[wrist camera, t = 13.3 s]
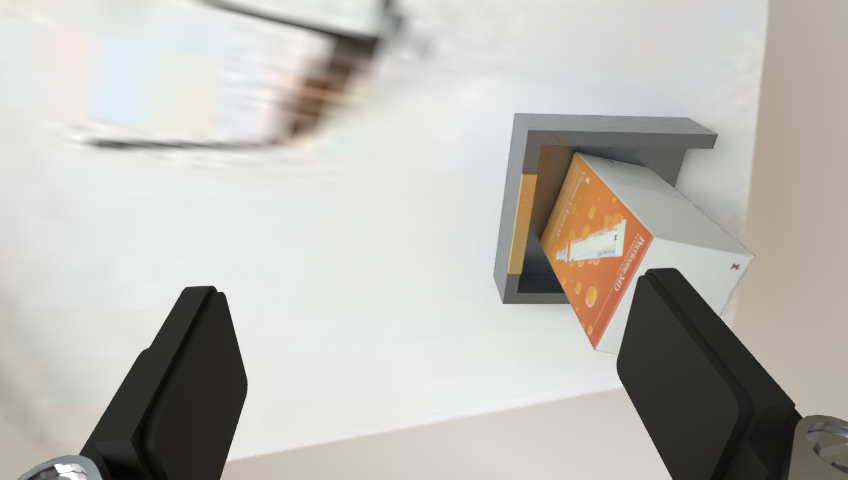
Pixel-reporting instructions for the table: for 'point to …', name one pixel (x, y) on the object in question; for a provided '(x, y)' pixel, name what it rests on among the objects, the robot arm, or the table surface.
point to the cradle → (545, 174)
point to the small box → (632, 244)
